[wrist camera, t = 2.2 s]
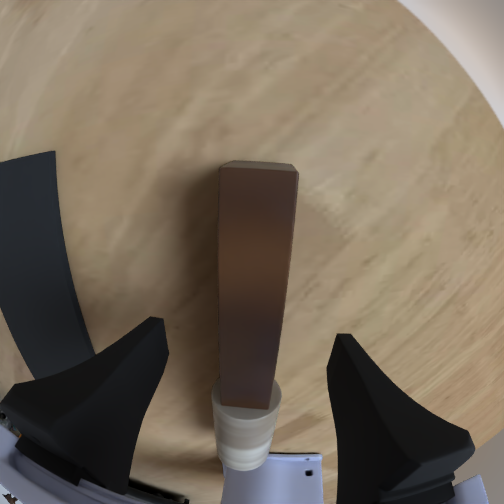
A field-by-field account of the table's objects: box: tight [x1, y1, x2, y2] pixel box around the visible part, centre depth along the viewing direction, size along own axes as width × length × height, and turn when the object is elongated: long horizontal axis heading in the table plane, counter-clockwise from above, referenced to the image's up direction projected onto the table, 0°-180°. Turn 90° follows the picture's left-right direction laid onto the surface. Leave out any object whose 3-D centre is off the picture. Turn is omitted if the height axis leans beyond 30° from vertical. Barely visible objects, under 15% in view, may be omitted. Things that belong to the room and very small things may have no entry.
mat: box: [0, 151, 95, 380], centre depth 16 cm, size 11×22×1 cm, turn 177°
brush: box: [211, 161, 299, 471], centre depth 14 cm, size 20×4×4 cm, turn 177°
